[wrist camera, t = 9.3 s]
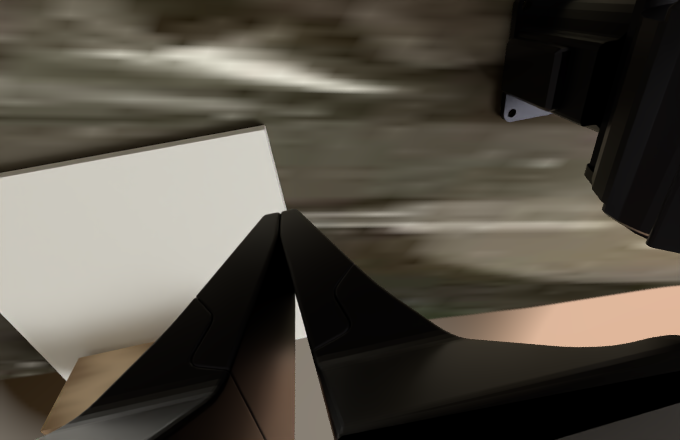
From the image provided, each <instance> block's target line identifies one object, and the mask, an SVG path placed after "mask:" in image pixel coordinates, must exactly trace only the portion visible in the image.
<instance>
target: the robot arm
mask: <svg viewBox="0 0 680 440" xmlns="http://www.w3.org/2000/svg"><path fill="white" fill-rule="evenodd" d="M524 1H525V0H515V2H514V5H513V12H512V20H511V29H510V37H509V41H508V43H507V46H506V55H505V63H504V72H503V80H502V91H503V95H502V103H501V112H500V115H501V117H502V119H504V120H506V121H508V122H511V121H517V120H522V119H527V118H533V117H538V116H543V115H549V114H555V115H558V116H560V117H562V118H564V119H567V120H569V121H571V122H574V123H576V124H578V125H580V126H585V127H587V128H589V129H592V130H594V131H596V132H599V133H598V137H597V140H596V144H595V147H594V151H593V154H592V158H591V162H590V163H589V164H587V167H586V170H585V174H584V175H585V176H586V178H587V179H588V180H589V182H590V183H591V184H592V189H593V191H594V192H595V193H596V195H597V196H598V197H599V199H600V200H601V201H602V202H603V203H604V204H603V207H602V210H603V212H604V213H605V214H607V215H608V216H609V217H611V218H612V219H614V220H615V221H617V222H618V223H620V224H621V225H623V226H625V227H626V228H628V229H629V230H631V231H632V232H634V233H635V234H637V235H640V236H642V237H644V238H646V239H647V241H646V244H647V245H648V246H650V247H652V248H656V249H661V250H666V251H671V252H676V253H680V0H526V1H527V6H526V8H525V9H524V10H523V9H522V5H523V3H524ZM511 109H512V113H511V114H510V115H508V112H509V111H510V110H511ZM295 295H296V299H297V302H298V306H299V310H300V313H301V317H302V320H303V324H304V328H305V331H306V335H307V338H308V342H309V346H310V349H311V353H312V356H313V360H314V364H315V367H316V371H317V375H318V378H319V382H320V386H321V390H322V394H323V398H324V402H325V405H326V409H327V413H328V417H329V421H330V425H331V429H332V432H333V436H334V440H680V336H679V335H666V336H659V337H652V338H648V339H644V340H639V341H636V342H631V343H626V344H620V345H614V346H602V347H559V346H547V345H535V344H523V343H510V342H499V341H487V340H475V339H466V338H462V337H458V336H456V335H453V334H450V333H449V332H447V331H445V330H443V329H441V328H440V327H438V326H437V325H435V324H434V323H432V322H431V321H429V320H428V319H426V318H425V317H423V316H422V315H421V314H419V313H418V312H416V311H415V310H413V309H412V308H410V307H409V306H408V305H406V304H405V303H403V302H402V301H400V300H399V299H397V298H396V297H394V296H393V295H392V294H390V293H389V292H388V291H386V290H385V289H383V288H382V287H381V286H379V285H378V284H377V283H376V282H374V281H373V280H372V279H371V278H370V277H369V276H367V275H366V274H365V273H364V272H363V271H362V270H361V269H360V268H359V267H358V266H357V265H355V264H354V263H353V262H352V261H351V260H350V259H349V258H348V257H347V256H346V255H345V254H344V253H343V252H342V251H341V250H340V249H338V248H337V247H336V246H335V245H334V244H333V243H332V242H331V241H330V240H329V239H328V238H327V237H326V236H325V235H324V234H323V233H322V232H320V231H319V230H318V229H317V228H316V227H315V226H314V225H313V224H312V223H311V222H310V221H309V220H308V219H307V218H306V217H305V216H304V215H302V214H301V213H300V212H299V211H298V210H297V209H291V210H286V211H282V212H281V214H280V213H278V212H276V213H271V214H266V215H264V216H263V217H262V218H261V219H260V220H259V222H258V223H257V224H256V225H255V226H254V228H253V229H252V230H251V231H250V232H249V234H248V235H247V236H246V237H245V238H244V240H243V241H242V242H241V243H240V244H239V245H238V247H237V248H236V249H235V250H234V251H233V253H232V254H231V255H230V256H229V257H228V259H227V260H226V261H225V262H224V263H223V265H222V266H221V267H220V268H219V269H218V270H217V272H216V273H215V274H214V275H213V276H212V278H211V279H210V280H209V281H208V282H207V284H206V285H205V286H204V287H203V288H202V289H201V291H200V292H199V293H198V294H197V295H196V298H194V299H193V300H192V301H191V302H190V304H189V305H188V306H187V307H186V308H185V310H184V311H183V312H182V313H181V314H180V315H179V316H178V317H177V319H176V320H175V321H174V322H173V323H172V324H171V325H170V326H169V328H168V329H167V330H166V331H165V332H164V333H163V334H162V335H161V336H160V337H159V338H158V339H157V340H156V341H155V342H154V343H153V344H152V345H151V346H150V347H149V348H148V349H147V350H146V351H145V352H144V353H143V354H142V355H141V356H140V357H139V358H138V359H137V360H136V361H135V362H134V363H133V364H132V365H131V366H130V367H129V368H128V369H127V370H126V371H125V372H124V373H123V374H122V375H121V376H120V377H119V378H118V379H117V380H116V381H115V382H114V383H113V384H112V385H111V386H110V387H109V388H108V389H107V390H106V391H105V392H104V393H103V394H102V395H101V396H100V397H99V398H98V399H97V400H96V401H95V402H94V403H93V404H92V405H91V406H90V407H89V408H87V409H86V410H85V411H84V412H82V413H81V414H80V415H79V416H77V417H76V418H74V419H73V420H71V421H70V422H68V423H67V424H65V425H64V426H62V427H60V428H58V429H57V430H55V431H53V432H51V433H49V434H47V435H45V436H43V437H40V438H38V439H35V440H294V432H295V430H294V429H295Z"/></svg>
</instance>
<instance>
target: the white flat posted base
mask: <svg viewBox="0 0 680 440" xmlns="http://www.w3.org/2000/svg"><path fill="white" fill-rule="evenodd" d="M286 210H287V209H286V205H285V202H284V198H283V194H282V190H281V186H280V182H279V178H278V174H277V170H276V166H275V162H274V158H273V155H272V151H271V147H270V143H269V139H268V135H267V131H266V127H265V125H261V126H256V127H250V128H245V129H239V130H234V131H228V132H223V133H217V134H212V135H206V136H201V137H195V138H190V139H184V140H179V141H173V142H168V143H162V144H157V145H151V146H146V147H140V148H135V149H129V150H124V151H118V152H113V153H107V154H102V155H96V156H91V157H85V158H80V159H74V160H69V161H63V162H58V163H52V164H47V165H41V166H36V167H30V168H25V169H19V170H14V171H8V172H3V173H0V313H1V314H2V315H3V316H4V317H5V318H6V319H7V320H8V321H9V322H10V323H11V324H12V325H13V326H14V327H15V328H16V329H17V330H18V331H19V332H20V334H21V335H22V336H23V337H24V338H25V339H26V340H27V341H28V342H29V343H30V344H31V345H32V346H33V347H34V348H35V349H36V350H37V351H38V352H39V353H40V354H41V355H42V356H43V357H44V358H45V359H46V360H47V361H48V362H49V363H50V364H51V365H52V366H53V367H54V368H55V369H56V370H57V372H58V373H59V374H60V375H61V376H62V377H63V378H64V379H65V380H66V381H67V379H68V378H69V376H70V374H71V372H72V370H73V368H74V366H75V364H76V362H77V361H78V359H79V358H81V357H86V356H90V355H95V354H100V353H104V352H109V351H113V350H118V349H122V348H127V347H131V346H136V345H141V344H145V343H150V342H154V341H156V340H157V339H158V338H159V337H160V336H161V335H162V334H163V333H164V332H165V331H166V330H167V329H168V328H169V326H170V325H171V324H172V323H173V322H174V321H175V320H176V319H177V317H178V316H179V315H180V314H181V313H182V312H183V311H184V310H185V308H186V307H187V306H188V305H189V304H190V302H191V301H192V300H193V299H194V298H196V295H197V294H198V293H199V292H200V291H201V289H202V288H203V287H204V286H205V285H206V284H207V282H208V281H209V280H210V279H211V278H212V276H213V275H214V274H215V273H216V272H217V270H218V269H219V268H220V267H221V266H222V265H223V263H224V262H225V261H226V260H227V259H228V257H229V256H230V255H231V254H232V253H233V251H234V250H235V249H236V248H237V247H238V245H239V244H240V243H241V242H242V241H243V240H244V238H245V237H246V236H247V235H248V234H249V232H250V231H251V230H252V229H253V228H254V226H255V225H256V224H257V223H258V222H259V220H260V219H261V218H262V217H263V216H264V215H266V214H271V213H276V212H278V213H280V214H281V212H282V211H286ZM305 337H307V335H306V331H305V328H304V324H303V320H302V317H301V313H300V310H299V306H298V302H297V299H296V295H295V340H296V339H301V338H305Z"/></svg>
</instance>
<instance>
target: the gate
mask: <svg viewBox="0 0 680 440" xmlns="http://www.w3.org/2000/svg"><path fill="white" fill-rule="evenodd" d="M154 342H155V341H154ZM154 342H150V343H145V344H141V345H136V346H131V347H127V348H122V349H118V350H113V351H109V352H104V353H100V354H95V355H90V356H86V357H81V358H79V359H78V361H77V362H76V364H75V366H74V368H73V370H72V372H71V374H70V376H69V378H68V379H67V381H66V383H65V385H64V387H63V389H62V391H61V393H60V395H59V397H58V398H57V401H56V402H55V404H54V406H53V408H52V410H51V412H50V414H49V416H48V417H47V419H46V421H45V423H44V425H43V427H42V429H41V432H42V433H43V434H44V435H47V434H49V433H51V432H53V431H55V430H57V429H58V428H60V427H62V426H64V425H65V424H67V423H68V422H70V421H71V420H73V419H74V418H76V417H77V416H79V415H80V414H81V413H82V412H84V411H85V410H86V409H87V408H89V407H90V406H91V405H92V404H93V403H94V402H95V401H96V400H97V399H98V398H99V397H100V396H101V395H102V394H103V393H104V392H105V391H106V390H107V389H108V388H109V387H110V386H111V385H112V384H113V383H114V382H115V381H116V380H117V379H118V378H119V377H120V376H121V375H122V374H123V373H124V372H125V371H126V370H127V369H128V368H129V367H130V366H131V365H132V364H133V363H134V362H135V361H136V360H137V359H138V358H139V357H140V356H141V355H142V354H143V353H144V352H145V351H146V350H147V349H148V348H149V347H150V346H151V345H152V344H153V343H154Z"/></svg>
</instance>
